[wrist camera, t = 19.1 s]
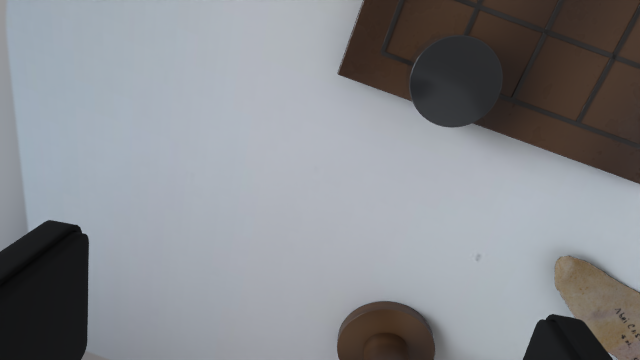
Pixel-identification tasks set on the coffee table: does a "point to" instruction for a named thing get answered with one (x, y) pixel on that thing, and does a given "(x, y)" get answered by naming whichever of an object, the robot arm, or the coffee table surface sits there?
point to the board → (526, 68)
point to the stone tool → (601, 305)
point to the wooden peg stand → (385, 334)
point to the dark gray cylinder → (454, 79)
